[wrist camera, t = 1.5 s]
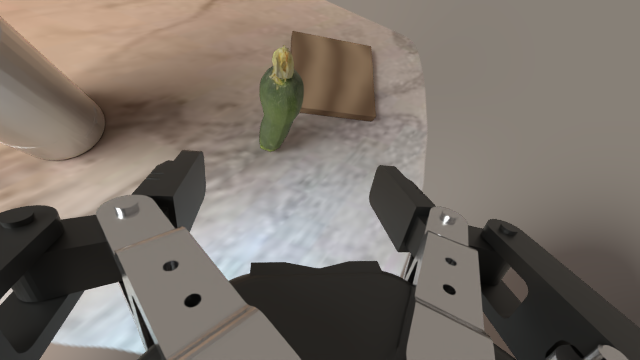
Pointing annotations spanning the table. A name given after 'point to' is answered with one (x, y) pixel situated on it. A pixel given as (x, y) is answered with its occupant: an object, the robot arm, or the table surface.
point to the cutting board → (334, 76)
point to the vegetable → (279, 99)
